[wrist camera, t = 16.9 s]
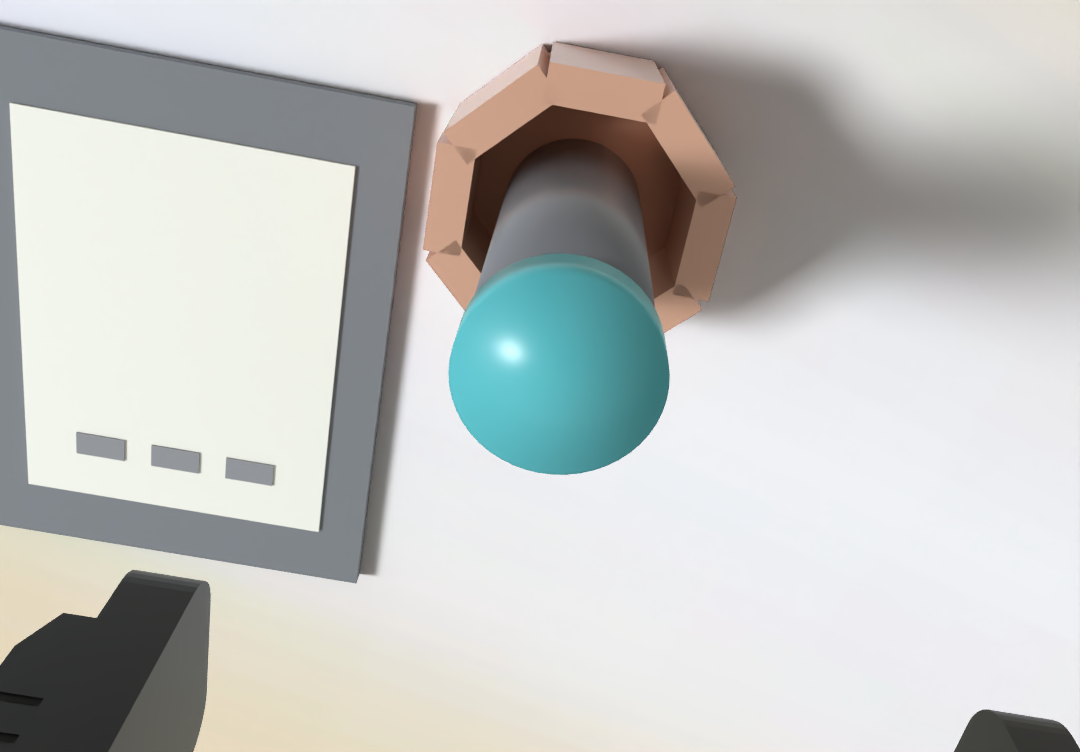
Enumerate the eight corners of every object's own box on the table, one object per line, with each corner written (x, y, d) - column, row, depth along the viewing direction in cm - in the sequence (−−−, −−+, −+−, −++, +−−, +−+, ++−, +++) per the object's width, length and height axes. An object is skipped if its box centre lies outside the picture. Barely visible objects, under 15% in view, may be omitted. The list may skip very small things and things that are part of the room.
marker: (517, 113, 28) (465, 256, 17) (655, 140, 28) (693, 299, 17) (495, 245, 30) (435, 453, 19) (625, 270, 30) (641, 491, 19)
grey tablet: (-37, 18, 28) (-50, 20, 28) (417, 103, 29) (414, 107, 28) (-4, 514, 35) (-14, 525, 35) (359, 574, 36) (355, 586, 35)
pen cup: (466, 24, 28) (450, 42, 24) (738, 76, 28) (762, 102, 25) (430, 283, 31) (411, 333, 28) (674, 327, 32) (687, 381, 28)
